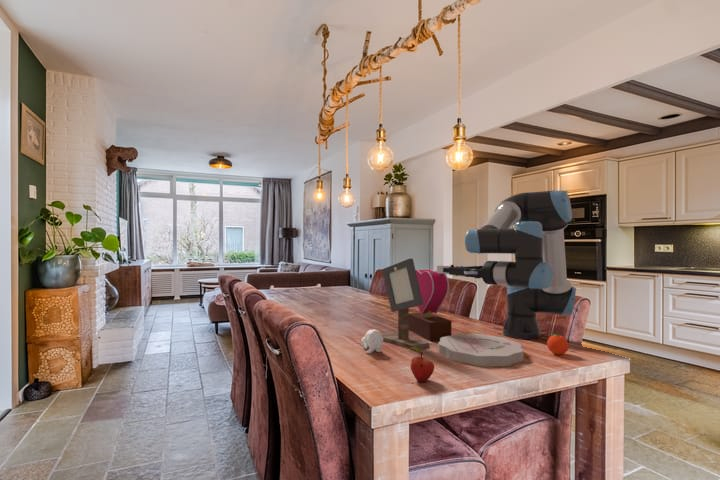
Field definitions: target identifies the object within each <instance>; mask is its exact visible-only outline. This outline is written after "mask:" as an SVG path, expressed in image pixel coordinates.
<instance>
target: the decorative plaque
mask: <svg viewBox="0 0 720 480" xmlns="http://www.w3.org/2000/svg"><path fill="white" fill-rule="evenodd" d="M437 345H438V347H437V349H438V350H437V351H438V353H439V354H440V355H442V356H444V357H447V358H448V359H449V360H450V361H452V362H459V363H465V364H469V365H473V366H477V367H489V366H492V367H495V366H496V367H508V366H511V365H513V364H516V363H521V362H523V361H524V349H523V348H522V344H521V343H519V342H516V341H512V340H510V339H508V338H507V337H502V336H494V335H488V334H485V333H483V334H482V333H455V334H451V336H446V337H441V338H440V340H439V342H438V343H437Z"/></svg>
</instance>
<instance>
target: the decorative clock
mask: <svg viewBox="0 0 720 480" xmlns="http://www.w3.org/2000/svg"><path fill="white" fill-rule="evenodd" d="M415 270H416V274H417V278H418V283H419V287H420V291H421V295H422V299H423V303H424V304H423V305H419V306H417V308H418V311H419V312H410V313H409V332H412V333H413V334H416V335H418V336H419V337H422V338H424V339H425V340H427V341H428V342H435V341H440V338H441V337H446V336H451V335H452V322H453V321H452V320H449V319H447V318H445V317H442V316H439V315H437V313H438V312H439V310H440V308H441V307H442V305H443V303H444V301H446V299H447V296H448V295H449V291H450V282H449V278H448V274H442V273H437V270H435V271H434V269H432V268H431V269H430V268H429V269H415Z"/></svg>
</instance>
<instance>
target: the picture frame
mask: <svg viewBox="0 0 720 480" xmlns="http://www.w3.org/2000/svg"><path fill="white" fill-rule="evenodd" d="M416 270H417V269H416V266H415V262H414V258H408V259H404V260H402V261H400V262H398V263H394V264H392V265H390V266H386V267H385V268H382V274H383V279H384V283H385V287H386V292H387V296H388V301H389V302H388V303H389V306H390V310H391V313H395V312H398V311H399V310H403V309H407V308H409V309H411V308H414V307H418V306H419V305H423V304H424V303H423V299H422V295H421V291H420V287H419V283H418V278H417V274H416Z"/></svg>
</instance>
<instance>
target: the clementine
mask: <svg viewBox="0 0 720 480" xmlns="http://www.w3.org/2000/svg"><path fill="white" fill-rule="evenodd" d="M546 345H547V346H546V347H547V349H548V350H549V351H550V353H552V354H555V355H557V356H560V355H564V354H566V353H567V352H568V350H569V343H568V340H567V339H566V338H565V337H564V336H562V335H559V334H550V335H549V336H548V339H547V342H546Z"/></svg>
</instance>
